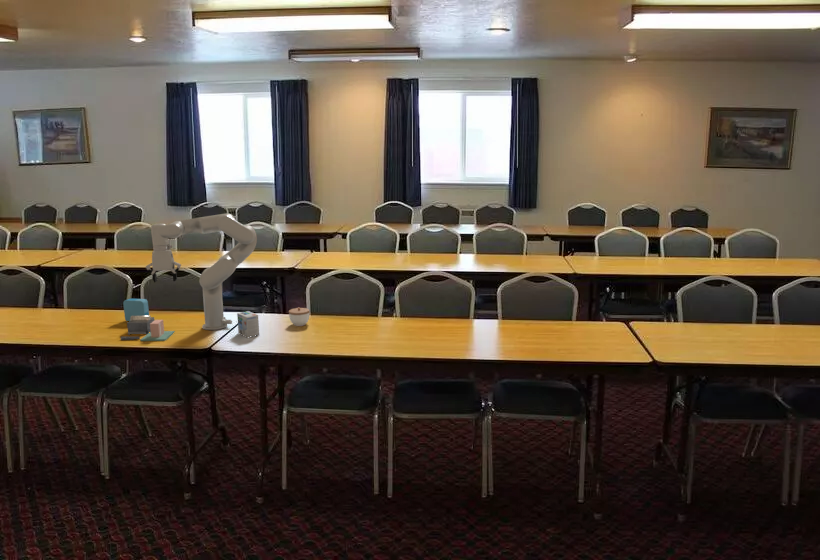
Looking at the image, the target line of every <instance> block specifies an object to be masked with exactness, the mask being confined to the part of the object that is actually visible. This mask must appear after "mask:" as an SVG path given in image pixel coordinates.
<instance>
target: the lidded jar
mask: <svg viewBox="0 0 820 560" xmlns="http://www.w3.org/2000/svg"><path fill="white" fill-rule="evenodd" d="M288 314H289V315H288V316H289V320H290V322H291V323H292V324H293V325H294V326H295V327H302V326H303V327H304V326H305V325H306V324H307V323H308V322H309V320H310V309H309V308H307V307H299V306H298V307H295V308H291V309H289V310H288Z"/></svg>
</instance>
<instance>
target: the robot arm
mask: <svg viewBox="0 0 820 560" xmlns="http://www.w3.org/2000/svg"><path fill="white" fill-rule="evenodd" d="M217 232H222V233H223V234H225V235H227V236H228V237H230V238H231V239H233V240H235V241H237V243H236V245H234V246H233V247H232V248H231V249H230V250H229V251H228V252H226V253H225V254H223V255H222V256H221V257H220V258H219V259H218V260H217V261H216V262H215V263H213V265H211V266H210V267H207V268H205V269H204V270H203V271H202V273H201V274H200V275H199V276H200V277H199V279H198V280H199V285H200V286H201V288H202V297H203V298H202V300H203V314H204V324H202V325H201V327H202V329H203V330H206V331H216V330H217V331H218V330H223V329H225V328H227V327H228V325H232V324H233V320H232V319H226V317H225V316H224V305H223V304H224V303H223V302H224V301H223V288H222V285H223V284H222V283H223V282H225V280H227V279H228V278H230V277H231V276H232V274H233V273H234V272H235V271H236V269H237V267H238V266H240V265H241V264H242V263H243V262H244V261H245V260H247V258H248V257H250V256H251V254H252V253H254V250H255V249H256V247H257V241H258V238H257V237H258V235H257V232H256V230H255V228H254V227H253V226H251V225H248V224H246V225H244V224H242V223H241V222H239V221H237V220H236V218H235V216H234V215H233V214H231V213H221V214H215V215H214V214H213V215H206V216H202V217H196V218H194V217H193V218H188V219H181V220H175V221H173V222H171V223H168V224H166V223H154V224H151V226H150V233H151V240H152V247H153V248H152V249H153V251H152V255H151V263H149V264H147V265H146V266H145V269H146V270H147V272H148V273H150V275H152V276H151V278H152V281H153V282H154V283H156V282H158V277H157V275H158V274H157V273H156V272H160V271H161V272H162V271H170V272H172V281H173V282H176V281H177V279H178V276H177V275H178V273H177V272H179V270H180V269H181V266H182V264H181V263H179V262H176V261H175V259H174V255H173V251H172V250H171V249H172V248H173V246H172V245H170V244H169V239H177V238H180V237H181V236H183V235H189V234H201V235H204V234H205V235H206V234H211V233H217ZM175 266H177V267H175ZM151 267H152V269H151Z"/></svg>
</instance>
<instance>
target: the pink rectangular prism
mask: <svg viewBox="0 0 820 560" xmlns="http://www.w3.org/2000/svg"><path fill="white" fill-rule="evenodd" d="M164 325H165V323H164V319H154V321H153V322H152V323H150V329H151V337H160V336H162V335H163V334H164V331H165V326H164Z"/></svg>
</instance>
